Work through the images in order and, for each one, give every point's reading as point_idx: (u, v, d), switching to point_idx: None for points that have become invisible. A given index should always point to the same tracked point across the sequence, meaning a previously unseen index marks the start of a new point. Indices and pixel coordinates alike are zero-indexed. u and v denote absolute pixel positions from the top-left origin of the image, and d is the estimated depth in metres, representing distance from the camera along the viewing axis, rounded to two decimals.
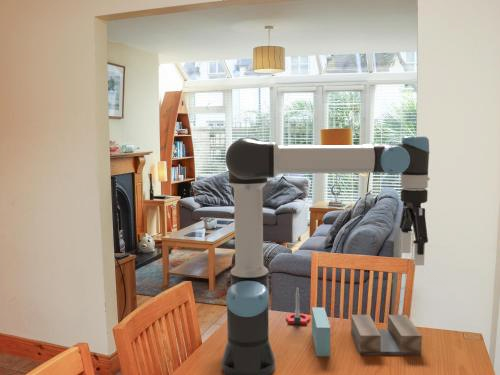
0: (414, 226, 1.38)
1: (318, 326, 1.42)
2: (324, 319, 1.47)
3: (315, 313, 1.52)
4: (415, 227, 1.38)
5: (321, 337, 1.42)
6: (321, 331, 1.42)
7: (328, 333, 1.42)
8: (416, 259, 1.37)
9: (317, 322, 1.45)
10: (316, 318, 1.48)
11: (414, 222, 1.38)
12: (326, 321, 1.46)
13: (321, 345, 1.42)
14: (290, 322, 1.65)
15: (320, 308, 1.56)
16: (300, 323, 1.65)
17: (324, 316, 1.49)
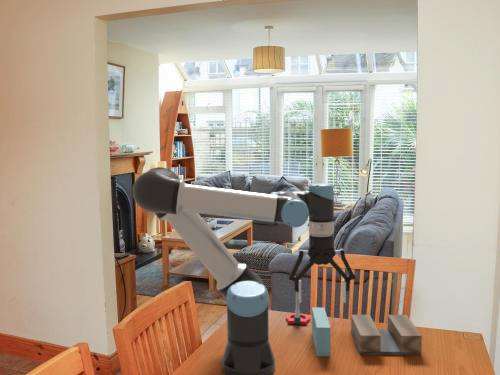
0: (304, 266, 1.49)
1: (318, 326, 1.42)
2: (324, 319, 1.47)
3: (315, 313, 1.52)
4: (303, 267, 1.49)
5: (321, 337, 1.42)
6: (321, 331, 1.42)
7: (328, 333, 1.42)
8: (298, 295, 1.50)
9: (317, 322, 1.45)
10: (316, 318, 1.48)
11: (306, 263, 1.48)
12: (326, 321, 1.46)
13: (321, 345, 1.42)
14: (290, 322, 1.65)
15: (320, 308, 1.56)
16: (300, 323, 1.65)
17: (324, 316, 1.49)
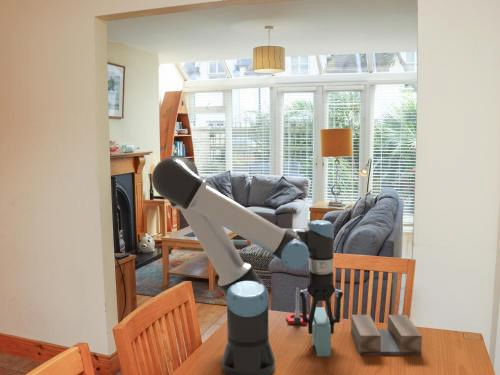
0: (311, 306, 1.50)
1: (318, 326, 1.42)
2: (324, 319, 1.47)
3: (315, 313, 1.52)
4: None
5: (321, 337, 1.42)
6: (321, 331, 1.42)
7: (328, 333, 1.42)
8: None
9: (317, 322, 1.45)
10: (316, 318, 1.48)
11: None
12: (326, 321, 1.46)
13: (321, 345, 1.42)
14: (290, 322, 1.65)
15: (320, 308, 1.56)
16: (300, 323, 1.65)
17: (324, 316, 1.49)
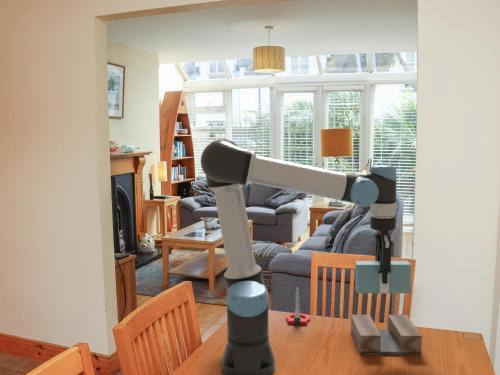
0: (380, 256, 1.44)
1: (408, 264, 1.45)
2: None
3: (374, 264, 1.46)
4: (381, 257, 1.44)
5: None
6: None
7: None
8: (381, 287, 1.46)
9: (398, 264, 1.46)
10: None
11: (381, 251, 1.44)
12: (393, 261, 1.49)
13: None
14: (290, 322, 1.65)
15: (359, 262, 1.49)
16: (300, 323, 1.65)
17: None
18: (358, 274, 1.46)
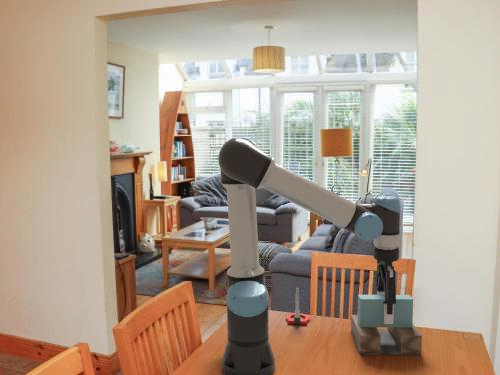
0: (385, 286, 1.44)
1: (410, 298, 1.47)
2: None
3: (377, 298, 1.48)
4: (385, 287, 1.44)
5: None
6: None
7: None
8: (386, 318, 1.44)
9: (400, 298, 1.47)
10: None
11: (385, 281, 1.44)
12: None
13: None
14: (290, 322, 1.65)
15: (362, 296, 1.50)
16: (300, 323, 1.65)
17: (384, 295, 1.50)
18: (361, 308, 1.47)
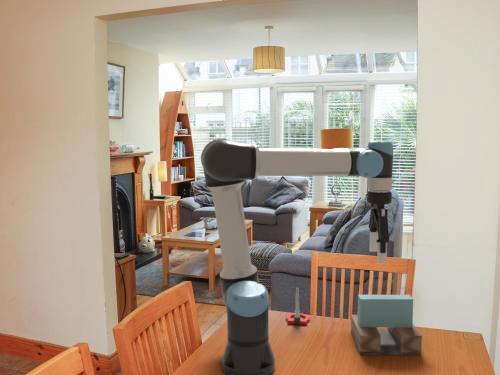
0: (378, 226, 1.46)
1: (410, 298, 1.47)
2: (390, 295, 1.50)
3: (377, 298, 1.48)
4: (378, 227, 1.46)
5: None
6: None
7: None
8: (379, 257, 1.45)
9: (400, 298, 1.47)
10: (390, 298, 1.47)
11: (378, 222, 1.47)
12: (395, 295, 1.50)
13: None
14: (290, 322, 1.65)
15: (362, 296, 1.50)
16: (300, 323, 1.65)
17: (384, 295, 1.50)
18: (361, 308, 1.47)
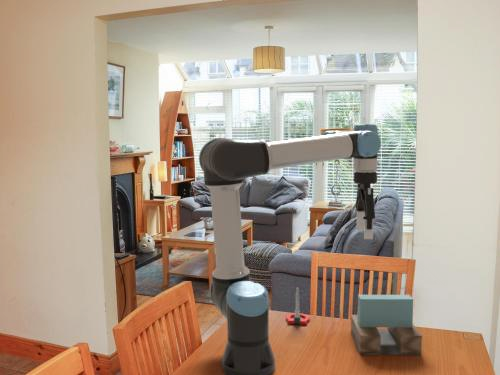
0: (364, 204, 1.54)
1: (410, 298, 1.47)
2: (390, 295, 1.50)
3: (377, 298, 1.48)
4: (365, 205, 1.54)
5: None
6: None
7: None
8: (366, 233, 1.53)
9: (400, 298, 1.47)
10: (390, 298, 1.47)
11: (364, 201, 1.55)
12: (395, 295, 1.50)
13: None
14: (290, 322, 1.65)
15: (362, 296, 1.50)
16: (300, 323, 1.65)
17: (384, 295, 1.50)
18: (361, 308, 1.47)
